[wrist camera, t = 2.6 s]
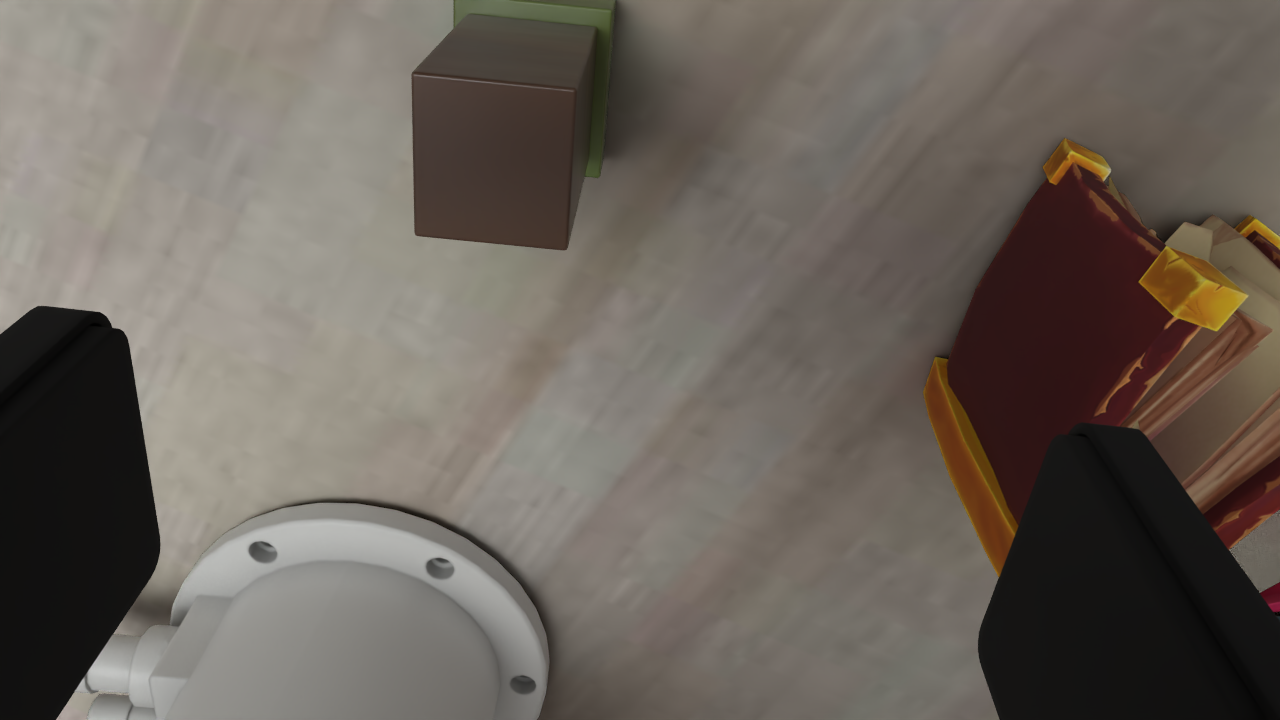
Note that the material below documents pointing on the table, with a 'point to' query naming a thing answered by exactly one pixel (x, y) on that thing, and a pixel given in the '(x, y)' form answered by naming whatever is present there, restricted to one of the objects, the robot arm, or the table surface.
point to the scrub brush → (511, 120)
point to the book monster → (1116, 354)
